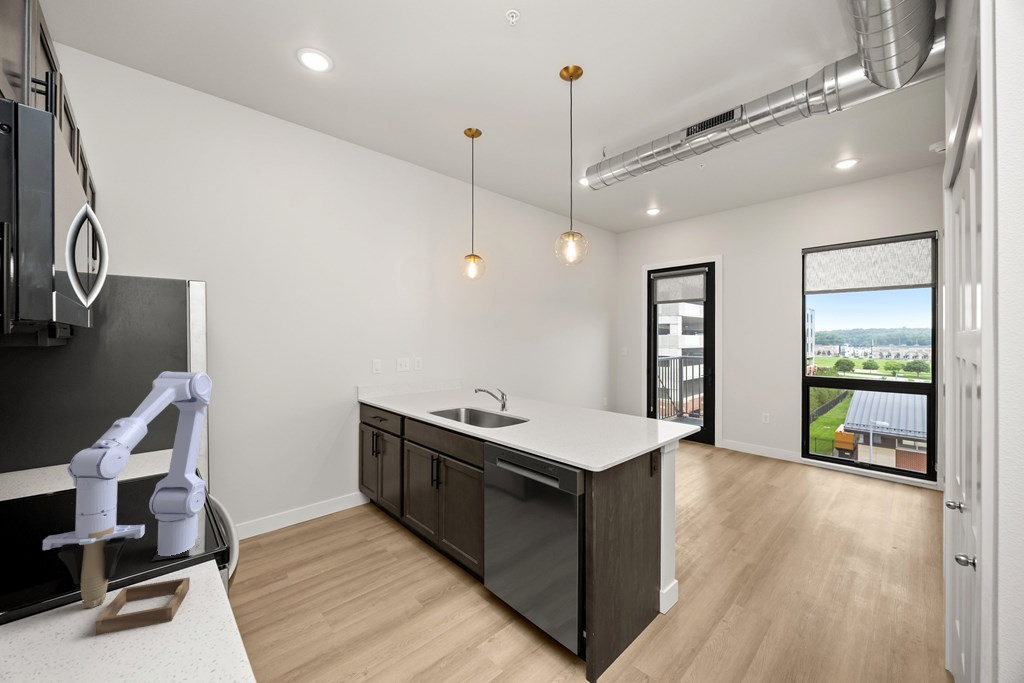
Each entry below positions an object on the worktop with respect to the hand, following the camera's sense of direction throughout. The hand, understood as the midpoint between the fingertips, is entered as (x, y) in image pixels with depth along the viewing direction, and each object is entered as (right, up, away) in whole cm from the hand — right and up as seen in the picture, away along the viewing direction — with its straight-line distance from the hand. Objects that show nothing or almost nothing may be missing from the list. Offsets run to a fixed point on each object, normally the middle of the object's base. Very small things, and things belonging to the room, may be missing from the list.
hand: (94, 579), depth 82 cm
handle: (0, -5, 0) cm, 5 cm away
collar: (+11, -5, -1) cm, 13 cm away
